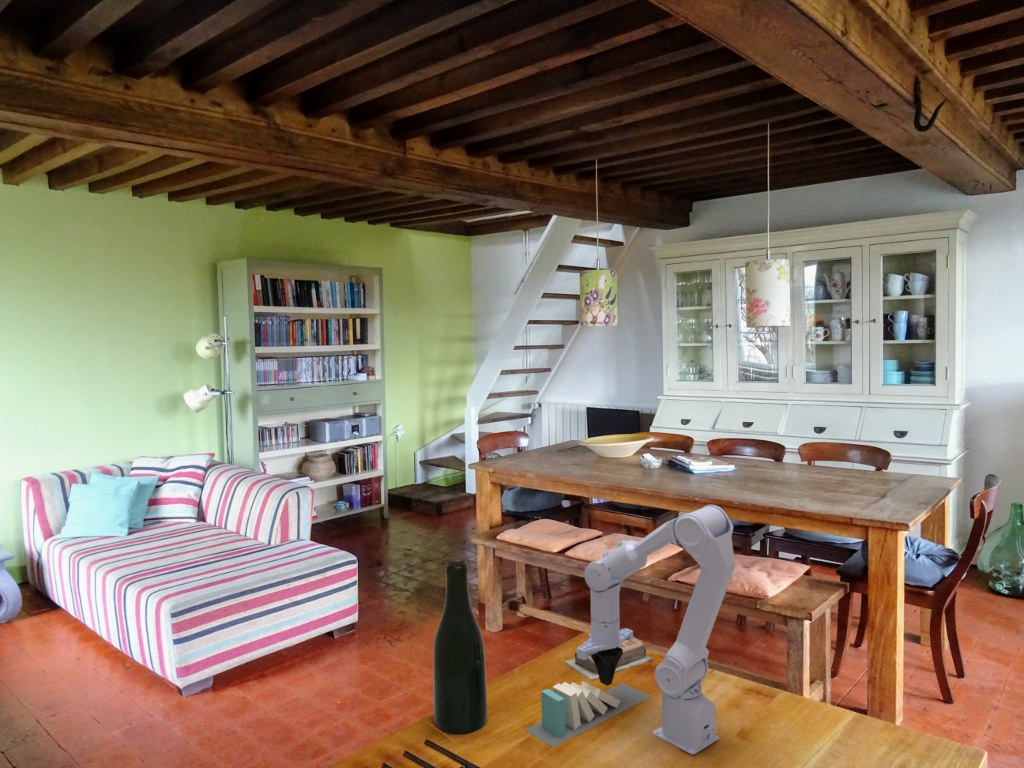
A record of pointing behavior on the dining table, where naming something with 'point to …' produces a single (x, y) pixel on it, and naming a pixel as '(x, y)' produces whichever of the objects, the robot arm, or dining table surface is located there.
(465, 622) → the beer bottle
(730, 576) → the robot arm
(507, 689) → the dining table surface
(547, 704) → the domino
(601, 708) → the domino
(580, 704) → the domino
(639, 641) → the packaged product
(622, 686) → the mat
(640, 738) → the dining table surface
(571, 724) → the domino
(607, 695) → the domino
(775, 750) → the dining table surface
